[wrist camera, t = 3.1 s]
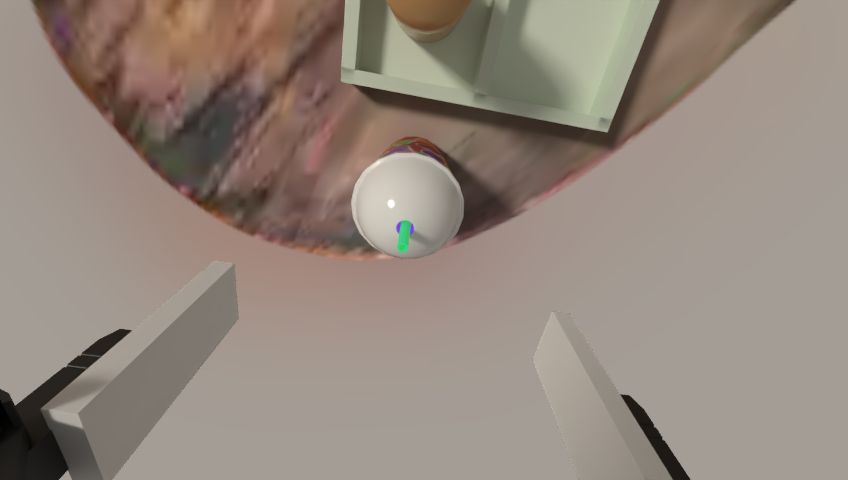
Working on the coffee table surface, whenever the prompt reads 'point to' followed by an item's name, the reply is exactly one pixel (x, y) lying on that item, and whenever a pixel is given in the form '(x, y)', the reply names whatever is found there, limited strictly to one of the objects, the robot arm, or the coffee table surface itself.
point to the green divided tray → (507, 56)
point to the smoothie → (408, 200)
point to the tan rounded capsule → (428, 17)
